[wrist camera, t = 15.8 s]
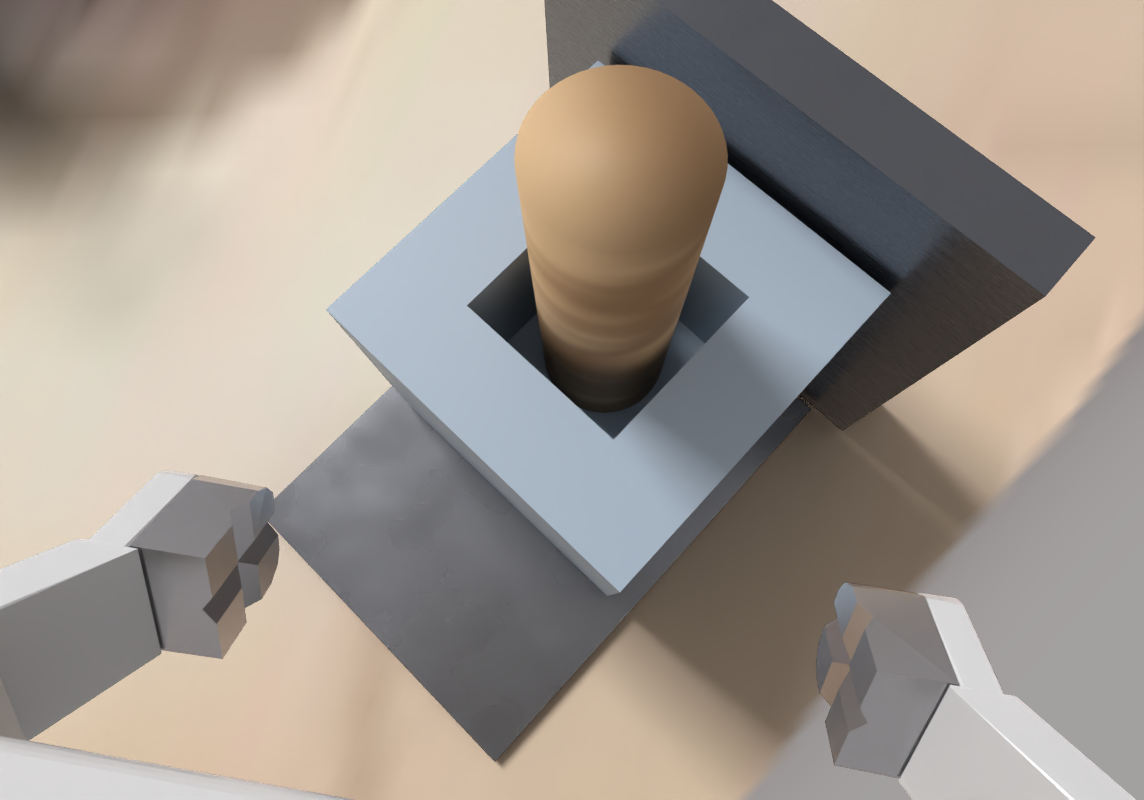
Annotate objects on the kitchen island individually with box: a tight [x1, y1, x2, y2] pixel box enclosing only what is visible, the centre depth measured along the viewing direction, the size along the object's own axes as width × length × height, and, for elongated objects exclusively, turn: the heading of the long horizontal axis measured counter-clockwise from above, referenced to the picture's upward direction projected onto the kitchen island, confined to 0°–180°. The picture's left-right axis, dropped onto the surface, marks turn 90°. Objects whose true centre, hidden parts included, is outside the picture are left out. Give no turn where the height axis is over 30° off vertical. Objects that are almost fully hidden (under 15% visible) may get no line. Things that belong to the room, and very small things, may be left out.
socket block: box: [326, 61, 891, 596], centre depth 26 cm, size 11×11×10 cm
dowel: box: [514, 65, 728, 413], centre depth 20 cm, size 4×4×12 cm
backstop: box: [268, 0, 1095, 761], centre depth 24 cm, size 20×16×14 cm
